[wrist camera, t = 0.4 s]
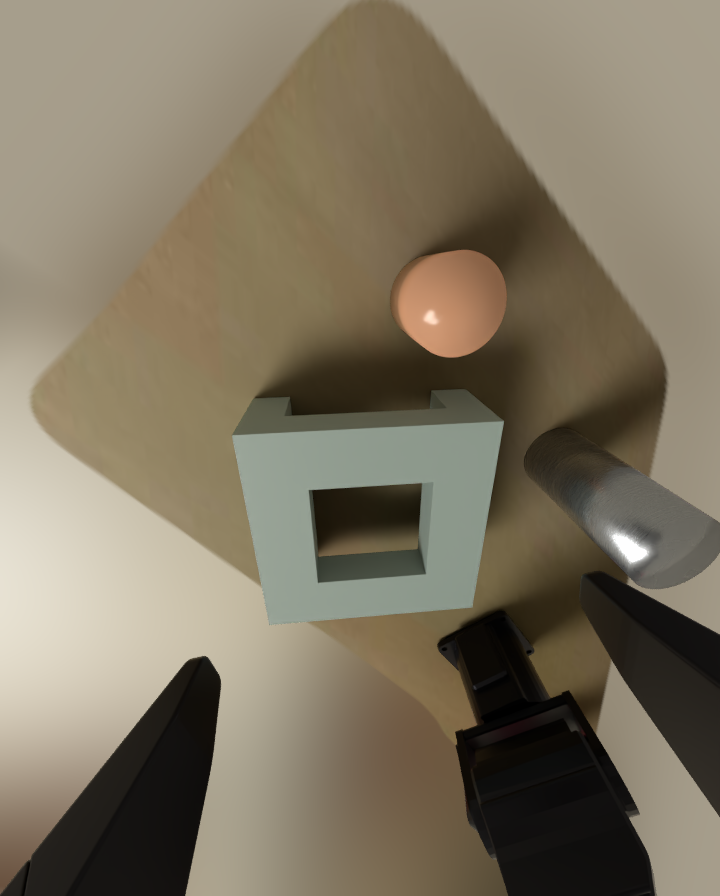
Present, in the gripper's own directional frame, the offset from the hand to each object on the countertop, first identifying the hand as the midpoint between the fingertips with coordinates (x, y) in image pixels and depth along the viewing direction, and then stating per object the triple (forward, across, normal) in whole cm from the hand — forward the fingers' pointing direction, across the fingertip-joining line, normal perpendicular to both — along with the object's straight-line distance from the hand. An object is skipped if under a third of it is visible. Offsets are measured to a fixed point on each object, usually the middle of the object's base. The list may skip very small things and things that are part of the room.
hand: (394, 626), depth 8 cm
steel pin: (+14, -12, +6) cm, 19 cm away
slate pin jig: (+14, 0, +4) cm, 14 cm away
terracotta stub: (+14, -5, -6) cm, 16 cm away
